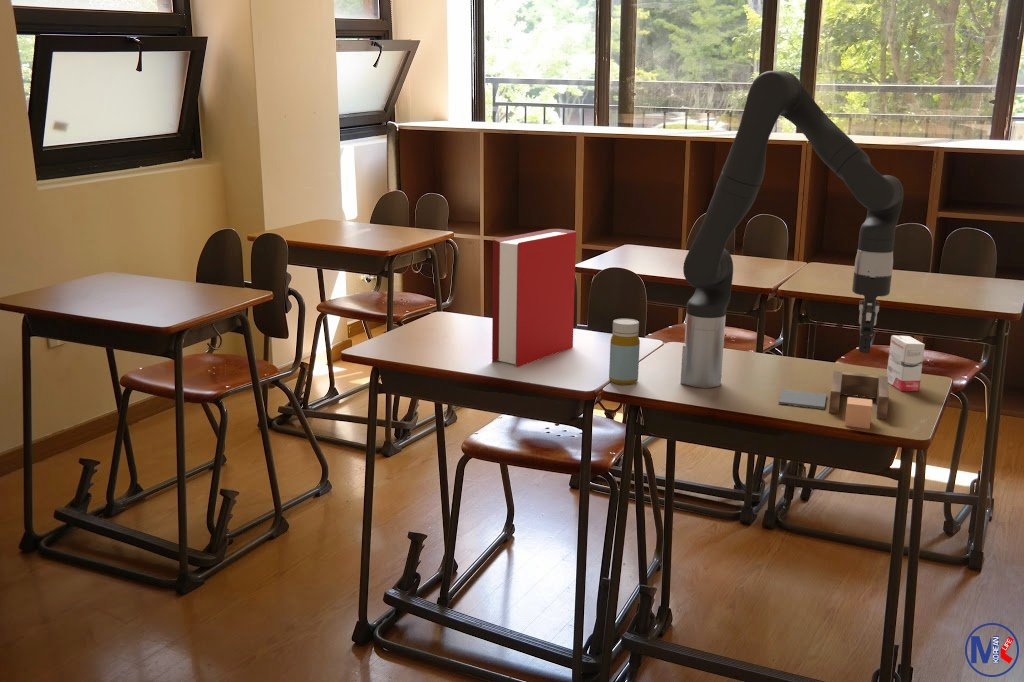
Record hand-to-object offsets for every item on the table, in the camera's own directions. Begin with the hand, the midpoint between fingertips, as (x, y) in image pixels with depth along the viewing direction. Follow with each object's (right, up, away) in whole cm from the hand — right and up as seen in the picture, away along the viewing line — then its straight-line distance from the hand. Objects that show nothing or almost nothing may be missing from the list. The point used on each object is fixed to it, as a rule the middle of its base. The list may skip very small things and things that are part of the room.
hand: (864, 350), depth 208 cm
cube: (-2, -16, -1) cm, 16 cm away
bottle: (-49, -8, +27) cm, 56 cm away
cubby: (+3, -12, +12) cm, 17 cm away
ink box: (+19, -9, +27) cm, 34 cm away
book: (-70, -2, +51) cm, 86 cm away
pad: (-9, -12, +14) cm, 21 cm away
